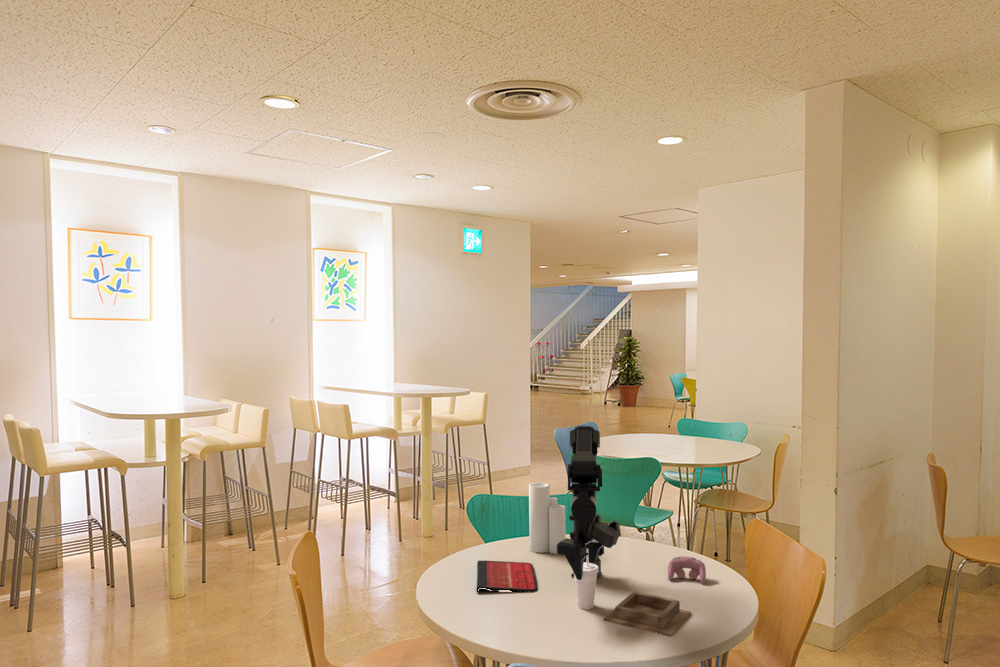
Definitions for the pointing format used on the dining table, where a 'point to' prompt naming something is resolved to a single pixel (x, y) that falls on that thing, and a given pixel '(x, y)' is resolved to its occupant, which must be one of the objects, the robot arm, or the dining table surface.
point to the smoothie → (586, 584)
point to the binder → (506, 576)
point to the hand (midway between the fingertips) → (585, 575)
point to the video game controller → (687, 562)
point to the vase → (545, 519)
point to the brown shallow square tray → (649, 613)
